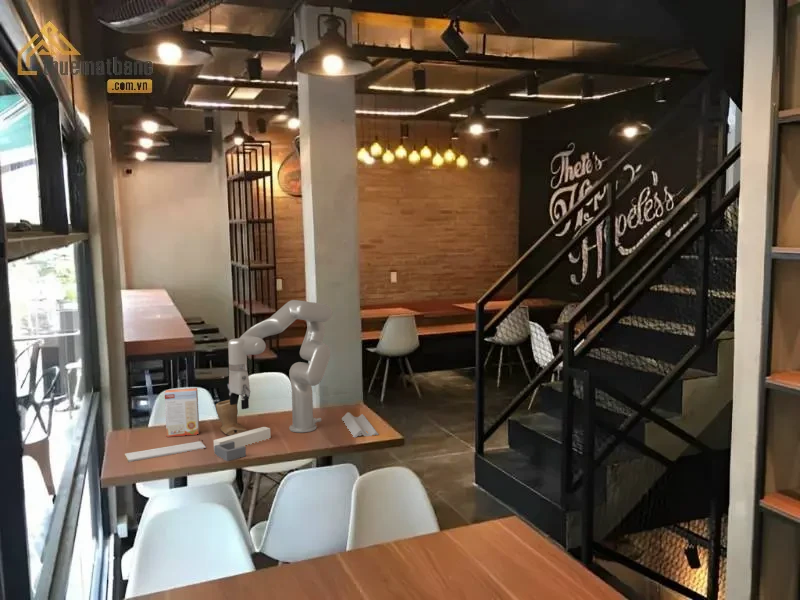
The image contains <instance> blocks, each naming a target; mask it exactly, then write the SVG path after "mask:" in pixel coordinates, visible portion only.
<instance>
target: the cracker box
mask: <svg viewBox="0 0 800 600" xmlns="http://www.w3.org/2000/svg"><path fill="white" fill-rule="evenodd" d="M198 393H199V392H198V388H197V387H193V388H192V387H191V388H177V389H176V388H175V389H166V390H165V392H164V408H165V410H164V411H165V428H166V429H165V430H166V431H165V432H166V437H167V438H171V437H184V436H185V435H187V436H196V435H197V434H198V435H199V433H200V416H199V414H200V413H199V396H198V395H199V394H198ZM198 435H197V436H198Z"/></svg>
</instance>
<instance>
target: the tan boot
mask: <svg viewBox="0 0 800 600" xmlns="http://www.w3.org/2000/svg"><path fill="white" fill-rule="evenodd" d="M215 410H216V413H217V416H218V419H219V420H220V422H221V425H222V426H221V427H220V431H221V432H222V433H224V434H225V435H227V436H231V435H235V434H238V433H242V432H246V431H248V430H247V429H246V427H244V426H243V425H242V424H241V423H238V413H239V410H238V403H237V404H234V405H230V399H226V400H223V401H219V402H217V403H216V404H215Z"/></svg>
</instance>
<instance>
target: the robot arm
mask: <svg viewBox="0 0 800 600" xmlns="http://www.w3.org/2000/svg"><path fill="white" fill-rule="evenodd" d="M332 315H333V310H332V307H331V306H330V305H328V304H327V303H323V302H322V303H321V302H320V303H319V302H312V301H311V302H310V301H306V300H297V299H291V300H289V301H287V302H285V304H284V305H283V306H281V307H280V308H279V309H278V310H277V311H276V312H275V313H273V314H272V315H271V316H270V317H268V318H266V319H264V320H262V321H260V322H258V323H256V324H254V325H252V326H251V327H250V328H248V329H247V330H246V331H245V332H244V333H243V334H242V335H240V337H239V338H232V339H230V340H228V342H227V343H228V344H227V346H228V372H229V373H228V374H229V375H228V376H229V377H228V383H227V384H226V385H227V391H228V395H229V400H230V405H234V404H237V405H238V396H240V397H241V400H240V401H241V402H240V403H241V410H246V409H249V408H250V405H249V404H250V403H249V399H250V397H251V395H250V394H251V388H250V387H251V386H250V377H249V373H248V359H247V358H248V357H247V356H248V355H252V356H253V355H254V356H255V355H261V354H262V353H264V351H265V350H266V346H267V345H266V342H265V340H264V338H266V337H269V336H274V335H278V334H281V333H283V332H284V331H285V330H286V329H287V328H288V327H289V326H290V325H292V324H293V323H294V322H295V321H296V320H301V321H302V320H303V321H306V326H307V328H306V332H305V335H304V339H303V341H302V344H301V346H300V350H299V356H300V358H301V359H303V360H304V361H308V362H309V363H308V362H303V361H302V362H301V361H298V362H295V363H293V364H292V365H291V366H290V369H289V371H288V372H289V374H288V376H289V380H290V385H291V408H292V409H291V411H292V418H291V419H292V424H290V425H289V428H288V429H289V431H290V432H293V433H300V434H301V433H310V432H313V431H316V430H317V423H320V422H322V418H321V417H317V418H316V417H314V412H313V411H314V409H313V407H314V406H313V405H314V404H313V401H314V400H313V387H315V386H317V385H320V383H321V381H322V379H323V378H324V376H325V374H326V373H325V372H326V370H327V367H328V363H329V362H330V356H331V349H330V347H329V345H327V344H326V343H324V342H323V339H324V337H325V333H326V329H325V327H326V326H325V323H326V322H328V321H329V320H331V319H332Z"/></svg>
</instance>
